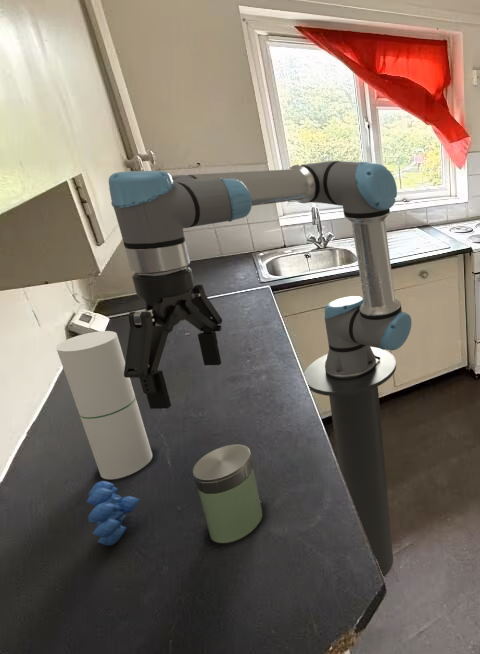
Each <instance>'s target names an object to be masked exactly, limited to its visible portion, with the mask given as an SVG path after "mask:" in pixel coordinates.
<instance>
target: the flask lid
mask: <svg viewBox="0 0 480 654" xmlns="http://www.w3.org/2000/svg"><path fill="white" fill-rule="evenodd" d="M252 469H254V462H253V459H252V453H251V450H250V448H249V447H248V446H246V445H243V444H228V445H224V446H221V447H218V448H216V449H214V450H212V451H211V450H210V451H209V452H208V453H206V454H205V455H204V456H202V457H201V458H199V460H198V461H197V462H196V463H195V464H194V466H193V468H192V474H193V475H192V476H193V480H194V484H195V489H197V491H198V490H199V491H200V492H202V493H207V494H214V493H220V492H223V491H226V490H229V489H231V488H233V487H235V486H237V485H238V484H240V483H241V482H243V481H244V480H245V479H246V478H247V477H248V476H249V475H250V473H251V471H252Z"/></svg>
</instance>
